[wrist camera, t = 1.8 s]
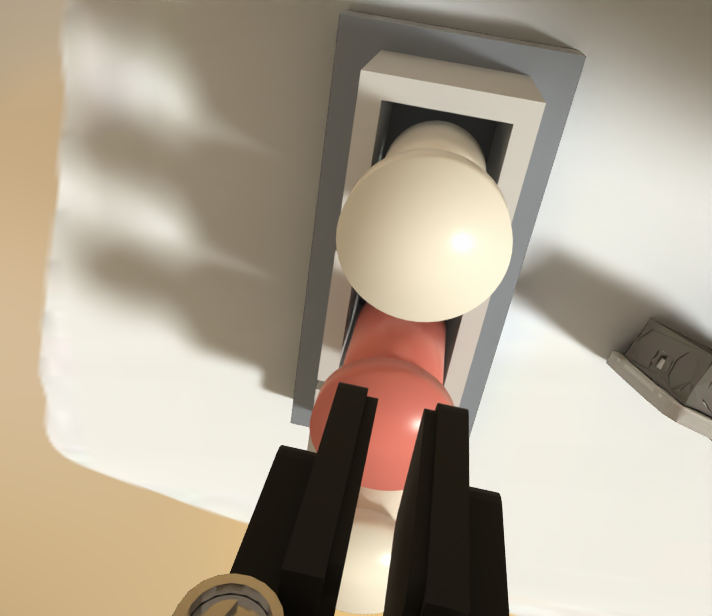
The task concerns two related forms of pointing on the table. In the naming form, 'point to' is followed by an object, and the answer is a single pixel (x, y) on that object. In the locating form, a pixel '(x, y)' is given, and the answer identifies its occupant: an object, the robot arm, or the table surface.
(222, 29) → the table surface
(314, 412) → the red rounded knob
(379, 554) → the ivory plunger
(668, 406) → the electrical switch
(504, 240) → the ivory plunger
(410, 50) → the grey compartment rack
